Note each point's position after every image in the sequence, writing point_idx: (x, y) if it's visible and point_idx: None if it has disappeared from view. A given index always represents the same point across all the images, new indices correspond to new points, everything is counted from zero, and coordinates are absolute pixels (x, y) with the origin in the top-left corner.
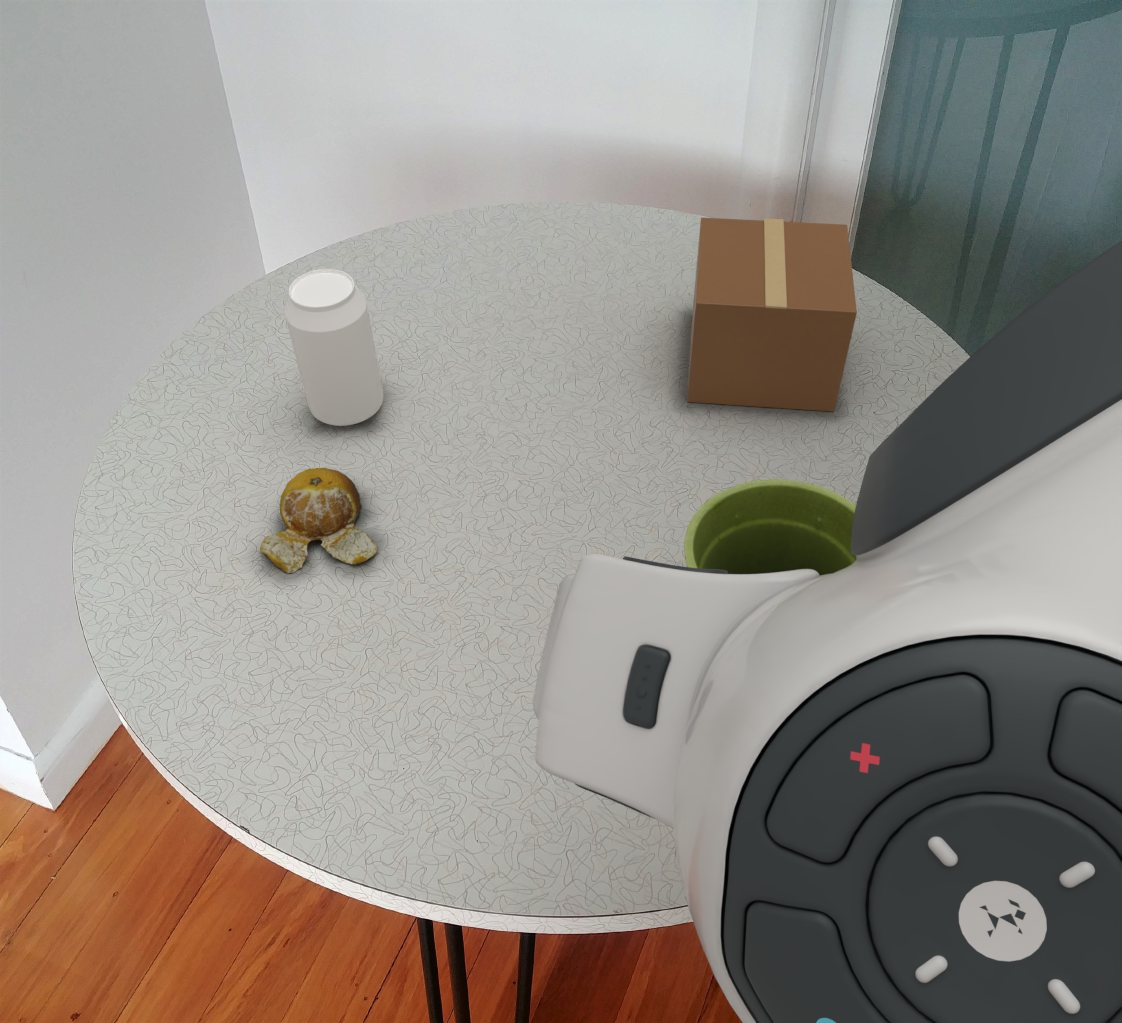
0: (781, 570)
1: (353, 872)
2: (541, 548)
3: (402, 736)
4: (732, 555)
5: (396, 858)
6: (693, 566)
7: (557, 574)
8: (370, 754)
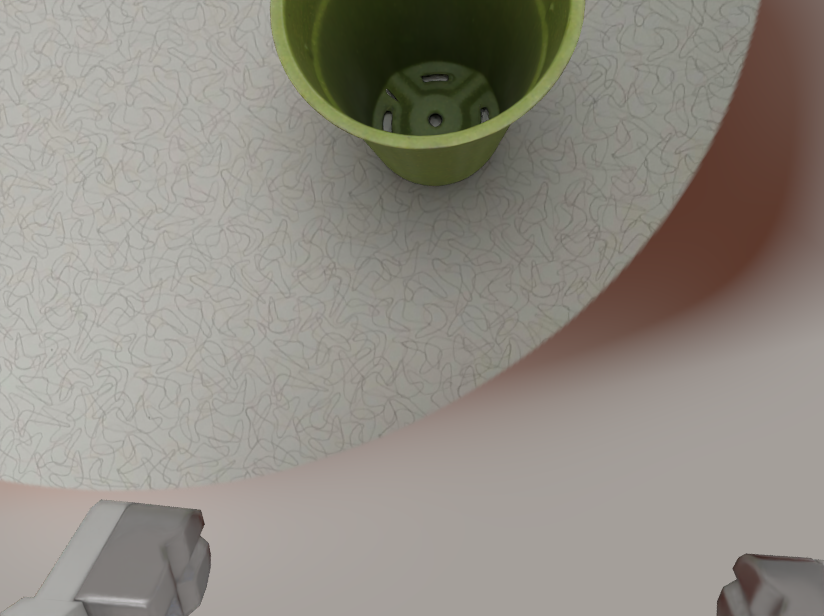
0: (437, 4)
1: (27, 480)
2: (149, 22)
3: (41, 311)
4: (364, 1)
5: (68, 455)
6: (288, 58)
7: (174, 56)
8: (11, 340)
